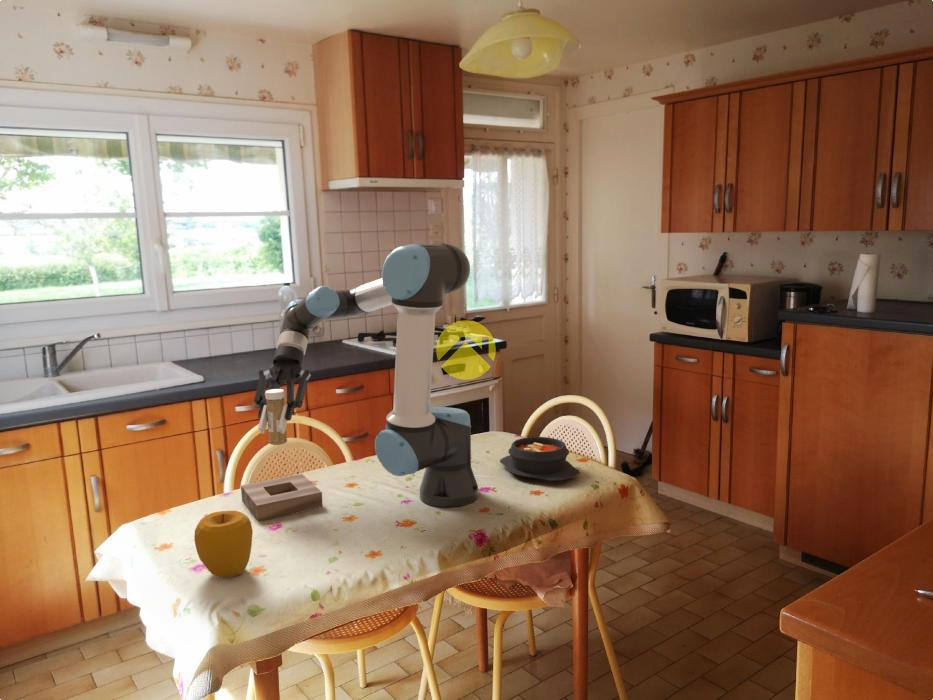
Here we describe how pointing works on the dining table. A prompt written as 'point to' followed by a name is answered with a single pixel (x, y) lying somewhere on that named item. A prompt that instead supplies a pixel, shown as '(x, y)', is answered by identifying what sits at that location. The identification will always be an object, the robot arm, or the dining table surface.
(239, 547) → the apple
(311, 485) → the frame
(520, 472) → the casserole
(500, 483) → the dining table surface
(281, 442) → the sprinkles bottle
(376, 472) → the dining table surface
